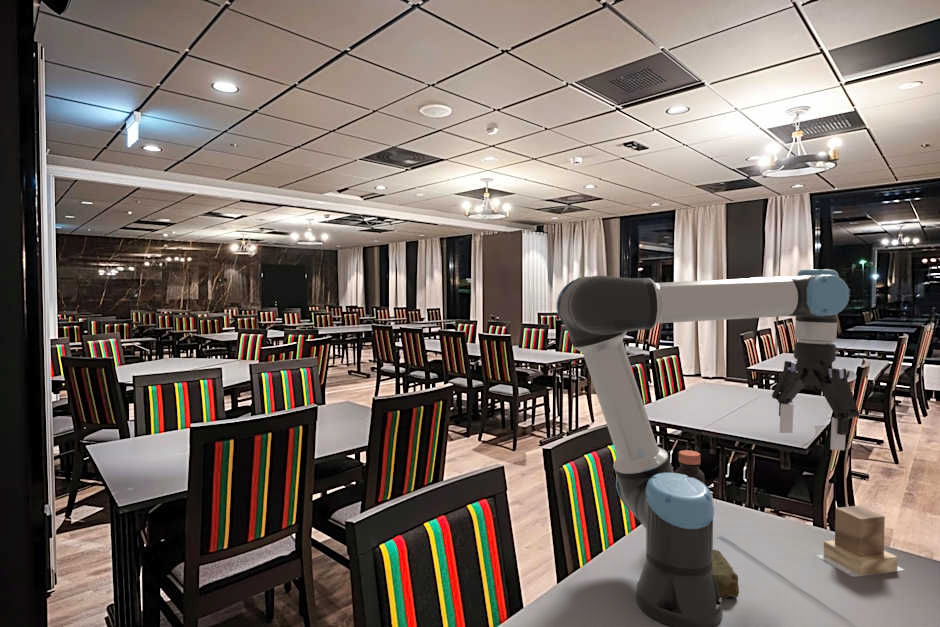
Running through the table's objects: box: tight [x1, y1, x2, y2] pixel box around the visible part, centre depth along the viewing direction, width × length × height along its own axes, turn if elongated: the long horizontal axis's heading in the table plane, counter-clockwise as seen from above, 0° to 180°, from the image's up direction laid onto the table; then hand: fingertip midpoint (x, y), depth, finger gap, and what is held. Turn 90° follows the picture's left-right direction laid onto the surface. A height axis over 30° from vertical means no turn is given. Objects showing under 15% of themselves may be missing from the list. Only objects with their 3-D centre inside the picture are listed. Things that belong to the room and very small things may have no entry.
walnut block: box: [834, 505, 886, 557], centre depth 114 cm, size 6×6×8 cm
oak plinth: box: [823, 539, 898, 577], centre depth 114 cm, size 9×9×3 cm
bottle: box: [674, 449, 705, 485], centre depth 130 cm, size 7×7×20 cm
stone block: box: [712, 549, 740, 599], centre depth 108 cm, size 6×12×5 cm, turn 174°
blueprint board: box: [816, 554, 905, 578], centre depth 114 cm, size 13×9×1 cm
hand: (810, 440), depth 114 cm, fingers open, 13 cm apart
